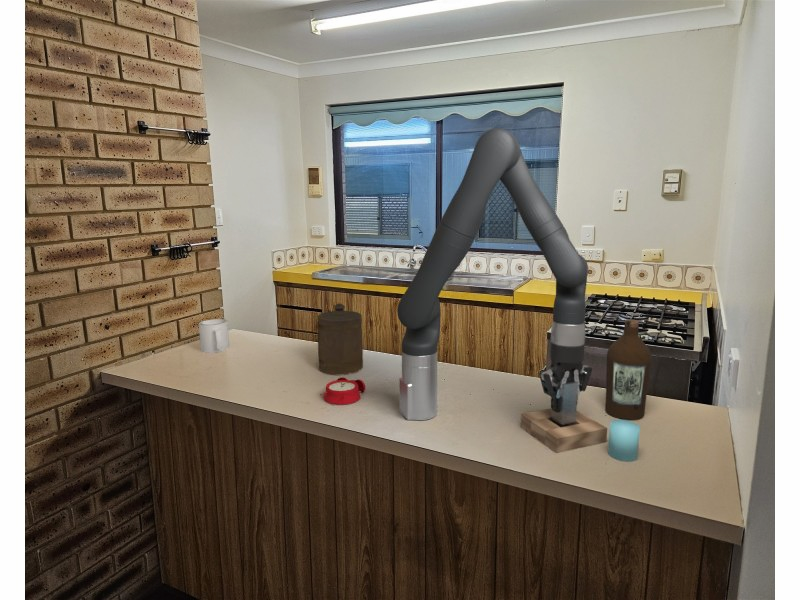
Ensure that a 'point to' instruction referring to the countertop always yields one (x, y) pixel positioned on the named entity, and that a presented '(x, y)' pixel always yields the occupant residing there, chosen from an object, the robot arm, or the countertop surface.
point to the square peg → (567, 404)
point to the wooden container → (340, 341)
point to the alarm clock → (343, 391)
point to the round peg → (623, 440)
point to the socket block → (563, 431)
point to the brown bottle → (627, 374)
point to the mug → (213, 335)
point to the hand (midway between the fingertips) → (563, 409)
